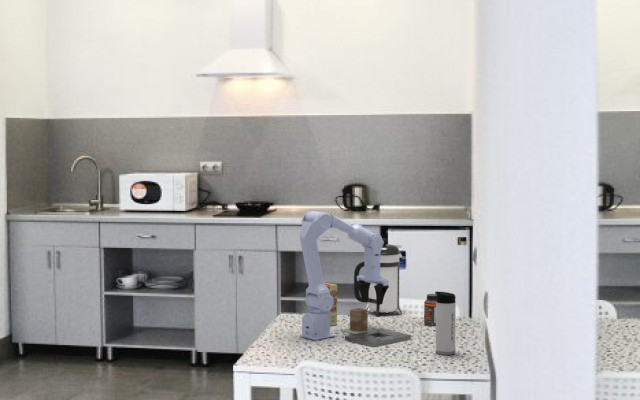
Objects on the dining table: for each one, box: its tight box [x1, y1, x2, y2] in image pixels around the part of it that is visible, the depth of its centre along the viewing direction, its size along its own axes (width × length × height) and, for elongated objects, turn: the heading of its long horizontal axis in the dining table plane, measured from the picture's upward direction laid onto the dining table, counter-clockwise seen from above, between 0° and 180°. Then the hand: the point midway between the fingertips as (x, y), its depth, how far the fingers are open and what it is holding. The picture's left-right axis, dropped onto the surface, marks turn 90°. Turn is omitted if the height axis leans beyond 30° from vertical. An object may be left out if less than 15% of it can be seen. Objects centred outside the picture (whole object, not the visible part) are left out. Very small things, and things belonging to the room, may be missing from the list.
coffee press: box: [353, 237, 403, 317], centre depth 357 cm, size 17×16×30 cm
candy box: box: [324, 281, 338, 327], centre depth 339 cm, size 9×4×15 cm, turn 39°
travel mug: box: [434, 291, 457, 356], centre depth 293 cm, size 6×7×20 cm
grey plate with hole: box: [344, 328, 412, 348], centre depth 313 cm, size 18×14×2 cm
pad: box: [340, 327, 373, 335], centre depth 326 cm, size 9×9×1 cm
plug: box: [349, 307, 369, 332], centre depth 326 cm, size 4×4×8 cm
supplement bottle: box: [423, 293, 437, 327], centre depth 338 cm, size 6×6×11 cm
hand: (372, 302), depth 330 cm, fingers open, 7 cm apart
